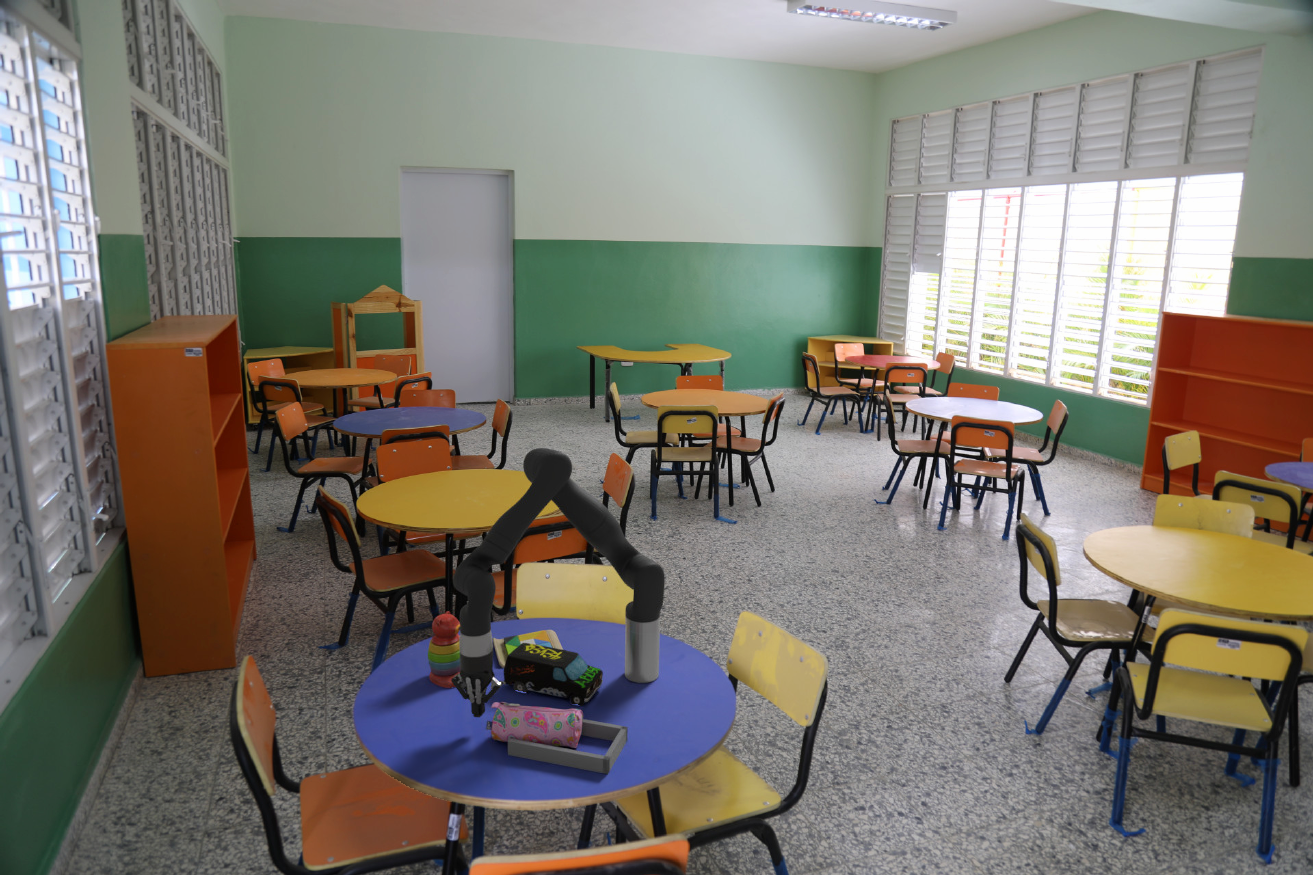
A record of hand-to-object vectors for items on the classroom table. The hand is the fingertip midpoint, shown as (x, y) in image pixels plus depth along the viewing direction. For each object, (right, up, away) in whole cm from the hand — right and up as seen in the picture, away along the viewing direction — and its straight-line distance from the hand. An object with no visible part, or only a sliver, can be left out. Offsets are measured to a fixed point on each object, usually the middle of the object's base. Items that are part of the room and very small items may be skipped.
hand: (478, 715), depth 201 cm
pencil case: (+14, -5, -3) cm, 16 cm away
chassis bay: (+22, -6, -5) cm, 23 cm away
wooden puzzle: (+6, +4, +42) cm, 43 cm away
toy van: (+15, 0, +21) cm, 26 cm away
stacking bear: (-14, +2, +26) cm, 29 cm away
